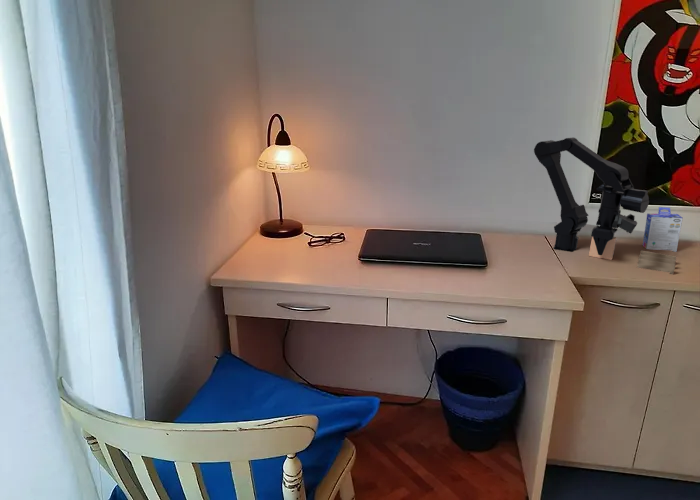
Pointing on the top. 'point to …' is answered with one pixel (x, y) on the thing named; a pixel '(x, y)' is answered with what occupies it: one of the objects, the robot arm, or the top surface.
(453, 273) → the top surface
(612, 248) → the terracotta block
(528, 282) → the top surface
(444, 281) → the top surface
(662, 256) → the slot rack
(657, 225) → the ink cartridge box
